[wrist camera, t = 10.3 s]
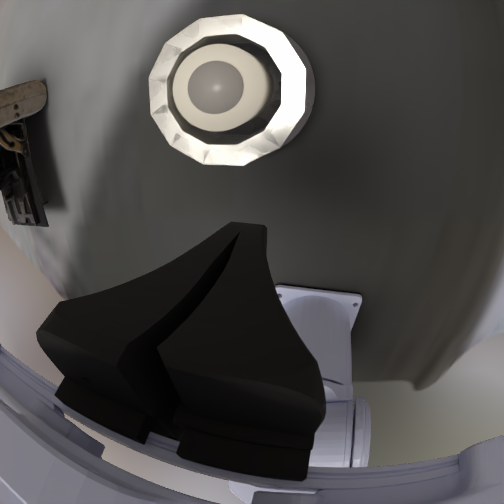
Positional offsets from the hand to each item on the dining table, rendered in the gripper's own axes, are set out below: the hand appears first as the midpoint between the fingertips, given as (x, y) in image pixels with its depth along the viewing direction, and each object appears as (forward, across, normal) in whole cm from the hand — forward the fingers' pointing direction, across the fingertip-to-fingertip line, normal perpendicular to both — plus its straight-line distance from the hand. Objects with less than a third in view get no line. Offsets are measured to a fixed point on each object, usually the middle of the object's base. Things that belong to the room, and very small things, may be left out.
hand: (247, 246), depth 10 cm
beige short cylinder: (+10, +3, -6) cm, 12 cm away
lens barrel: (+10, +3, -6) cm, 12 cm away
